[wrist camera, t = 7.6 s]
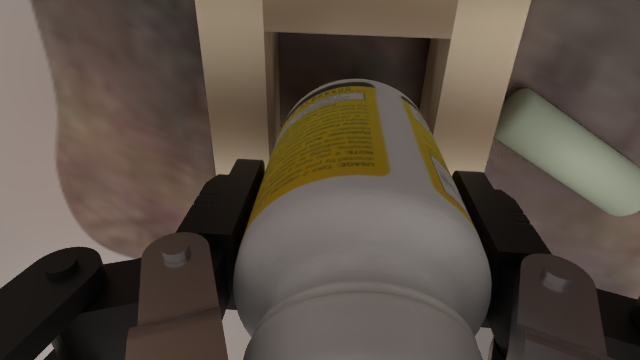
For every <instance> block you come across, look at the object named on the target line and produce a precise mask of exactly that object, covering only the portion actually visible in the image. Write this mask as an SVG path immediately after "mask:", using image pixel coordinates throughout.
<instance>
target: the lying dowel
mask: <svg viewBox="0 0 640 360" xmlns="http://www.w3.org/2000/svg"><path fill="white" fill-rule="evenodd" d="M494 138H496V139H497V140H499V141H500V142H502V143H503V144H505V145H506V146H508V147H509V148H511V149H512V150H514V151H515V152H517V153H518V154H520V155H521V156H523V157H524V158H526V159H527V160H529V161H530V162H532V163H533V164H535V165H536V166H538V167H539V168H541V169H542V170H544V171H545V172H547V173H548V174H550V175H551V176H553V177H554V178H556V179H557V180H559V181H560V182H562V183H563V184H565V185H566V186H568V187H569V188H571V189H572V190H574V191H575V192H577V193H578V194H580V195H581V196H583V197H584V198H586V199H587V200H589V201H590V202H592V203H593V204H595V205H596V206H598V207H599V208H601V209H602V210H604V211H605V212H607V213H608V214H610V215H613V216H627V215H630V214H633V213H635V212H637V211H639V210H640V168H639V167H638V166H636V165H635V164H633V163H632V162H631V161H629V160H628V159H626V158H625V157H624V156H622V155H621V154H620V153H618V152H617V151H615V150H614V149H613V148H611V147H610V146H608V145H607V144H606V143H604V142H603V141H602V140H600V139H599V138H597V137H596V136H595V135H593V134H592V133H590V132H589V131H588V130H586V129H585V128H584V127H582V126H581V125H579V124H578V123H577V122H575V121H574V120H572V119H571V118H570V117H568V116H567V115H566V114H564V113H563V112H561V111H560V110H559V109H557V108H556V107H554V106H553V105H552V104H550V103H549V102H548V101H546V100H545V99H543V98H542V97H541V96H539V95H538V94H536V93H535V92H534V91H532V90H531V89H528V88H525V89H521V90H518V91H516V92H514V93H513V94H512V95H511V96H510V97H509V98H508V99H507V100H506V101H505V102H504V103H503V105H502V109H501V112H500V116H499V120H498V123H497V127H496V131H495V134H494Z"/></svg>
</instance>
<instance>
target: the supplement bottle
mask: <svg viewBox="0 0 640 360" xmlns="http://www.w3.org/2000/svg"><path fill="white" fill-rule="evenodd" d="M491 287H492V281H491V272H490V268H489V263H488V259H487V256H486V254H485V251H484V248H483V246H482V243H481V241H480V238H479V236H478V233H477V231H476V229H475V227H474V225H473V223H472V220H471V218H470V216H469V214H468V212H467V210H466V207H465V205H464V203H463V201H462V199H461V196H460V194H459V192H458V189H457V187H456V185H455V183H454V181H453V179H452V177H451V174H450V172H449V170H448V168H447V165H446V163H445V161H444V159H443V156H442V154H441V152H440V150H439V148H438V146H437V143H436V141H435V139H434V137H433V135H432V132H431V130H430V128H429V126H428V124H427V122H426V120H425V119H424V117H423V115H422V114H421V112H420V110H419V109H418V108H417V106H416V105H415V104H414V103H413V102H412V101H411V100H410V99H409V98H408V97H407V96H405V95H404V94H403V93H401V92H400V91H398V90H397V89H395V88H393V87H391V86H389V85H386V84H384V83H380V82H377V81H373V80H367V79H345V80H338V81H334V82H331V83H328V84H325V85H323V86H320V87H318V88H317V89H315V90H313V91H311V92H310V93H309V94H307V95H306V96H305V97H303V98H302V99H301V100H300V101H299V102H298V103H297V104H296V105H295V106H294V107H293V109H292V110H291V111H290V113H289V114H288V116H287V118H286V119H285V121H284V123H283V125H282V127H281V130H280V132H279V135H278V138H277V141H276V144H275V146H274V149H273V152H272V154H271V157H270V159H269V162H268V165H267V168H266V171H265V174H264V177H263V180H262V183H261V185H260V188H259V192H258V194H257V197H256V200H255V203H254V206H253V209H252V212H251V215H250V218H249V221H248V224H247V227H246V230H245V232H244V235H243V238H242V241H241V244H240V247H239V251H238V256H237V259H236V263H235V269H234V278H233V294H234V299H235V304H236V308H237V311H238V314H239V317H240V319H241V321H242V323H243V325H244V327H245V329H246V330H247V332H248V333H249V335H250V336H251V337H252V339H251V340H250V342H249V344H248V346H247V348H246V351H245V355H244V359H243V360H483V359H482V356H481V353H480V351H479V349H478V346H477V343H476V339H475V335H476V334H477V332H478V331H479V329H480V327H481V325H482V324H483V321H484V319H485V317H486V315H487V312H488V308H489V304H490V300H491Z"/></svg>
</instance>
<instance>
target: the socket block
mask: <svg viewBox="0 0 640 360" xmlns="http://www.w3.org/2000/svg"><path fill="white" fill-rule="evenodd" d="M530 3H531V0H195V6H196V14H197V22H198V31H199V39H200V47H201V55H202V63H203V72H204V80H205V88H206V96H207V104H208V113H209V121H210V129H211V137H212V145H213V154H214V162H215V170H216V176H217V175H218V174H226V175H229V173H230V171H231V170H232V168H233V166H234V164H235V162H236V160H237V159H255V160H263V161H264V165H265V171H266V168H267V165H268V162H269V159H270V157H271V154H272V152H273V149H274V146H275V144H276V141H277V138H278V135H279V132H280V130H281V127H280V86H279V46H278V32H289V33H314V34H339V35H364V36H389V37H414V38H431V41H430V47H429V53H428V59H427V65H426V71H425V77H424V83H423V90H422V96H421V102H420V108H419V110H420V112H421V114H422V115H423V117H424V119H425V120H426V122H427V124H428V126H429V128H430V130H431V132H432V135H433V137H434V139H435V141H436V143H437V146H438V148H439V150H440V152H441V154H442V156H443V159H444V161H445V163H446V165H447V168H448V170H449V172H450V174H451V177H452V174H453V173H454V171H456V170H457V171H476V172H483V173H484V171H485V167H486V164H487V160H488V156H489V153H490V149H491V145H492V142H493V138H494V134H495V131H496V127H497V123H498V120H499V116H500V112H501V109H502V105H503V101H504V98H505V94H506V91H507V87H508V83H509V80H510V76H511V72H512V69H513V65H514V61H515V58H516V54H517V50H518V47H519V43H520V39H521V36H522V32H523V28H524V25H525V21H526V18H527V14H528V10H529V7H530Z"/></svg>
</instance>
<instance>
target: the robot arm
mask: <svg viewBox="0 0 640 360" xmlns="http://www.w3.org/2000/svg"><path fill="white" fill-rule="evenodd" d="M264 174H265V165H264V161H263V160H255V159H237V160H236V162H235V164H234V166H233V168H232V170H231V171H230V173H229V175H226V174H218V175H217V176H215V177H214V178H212V179H211V180H209V181H208V182H207V183H206V184H205V185H204V187H203V189H202V190H201V192H200V195H199V196H198V197H197V198H196V200H195V202H194V205H192V207H191V208H190V210H189V212H188V213H187V215H186V216H185V218H184V220H183V221H182V223H181V225H180V226H179V228H178V230H177V231H176V233H173V234H169V235H166V236H163V237H161V238H159V239H157V240H155V241H154V242H152V243H151V244H150V245H149V246H148V247H147V248H146V249H145V250H144V252H143V254H142V258H138V259H133V260H128V261H121V262H115V263H109V264H103V263H102V260H101V257H100V255H99V253H98V252H97V251H95V250H94V249H91V248H87V247H71V248H65V249H62V250H58V251H55V252H53V253H50V254H48V255H46V256H44V257H42V258H41V259H39V260H37V261H36V262H35V263H33V264H32V265H31V266H29V267H28V268H27V269H25V270H24V271H23V272H22V273H20V274H19V275H18V276H16V277H15V278H14V279H12V280H11V281H10V282H8V283H7V284H6V285H4V286H3V287H2V288H1V289H0V360H34V359H35V358H36V357H37V356H38V355H39V354H40V353H41V352H42V351H43V350H44V349H45V348H46V347H47V346H48V345H49V344H50V343H52V345H53V347H54V349H53V351H51V352H50V354H49V355H48V356H47V357H46V358H45V359H44V360H228V355H227V349H226V343H225V337H224V331H223V325H222V319H223V316H224V314H225V311H226V309H230V310H237V308H236V304H235V299H234V294H233V278H234V269H235V263H236V259H237V256H238V251H239V247H240V244H241V241H242V238H243V235H244V232H245V230H246V227H247V224H248V221H249V218H250V215H251V212H252V209H253V206H254V203H255V200H256V197H257V194H258V192H259V188H260V185H261V183H262V180H263V177H264ZM452 179H453V181H454V183H455V185H456V187H457V189H458V192H459V194H460V196H461V199H462V201H463V203H464V205H465V207H466V210H467V212H468V214H469V216H470V218H471V220H472V223H473V225H474V227H475V229H476V231H477V233H478V236H479V238H480V241H481V243H482V246H483V248H484V251H485V254H486V256H487V259H488V263H489V268H490V272H491V281H492V287H491V300H490V304H489V308H488V312H487V315H486V317H485V319H484V321H483V324H482V325H481V327H486V328H491V330H492V332H493V335H494V336H493V339H492V341H491V344H490V347H489V353H488V360H640V296H639V298H638V300H637V299H633V298H629V297H626V296H622V295H618V294H615V293H611V292H607V291H604V290H601V289H597V288H596V286H595V283H594V281H593V280H592V278H591V277H590V276H589V274H587V273H586V272H585V271H584V270H583V269H582V268H580V267H579V266H577V265H576V264H574V263H572V262H570V261H568V260H566V259H564V258H561V257H558V256H554V255H552V254H551V252H550V251H549V249H548V248H547V246H546V245H545V244H544V242H543V241H542V239H541V238H540V236H539V235H538V233H537V232H536V230H535V229H534V227H533V226H532V225H531V224H530V221H529V220H528V218H527V217H526V215H524V214H523V211H522V210H521V208H520V207H519V205H518V204H517V202H516V201H515V200H514V199H513V198H511V197H510V196H509V195H507V194H506V193H505V192H503V191H502V190H495V189H493V187H492V185H491V184H490V182H489V180H488V179H487V177H486V176H485V174H484V173H483V172H476V171H457V170H456V171H454V173H453V174H452Z"/></svg>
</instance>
